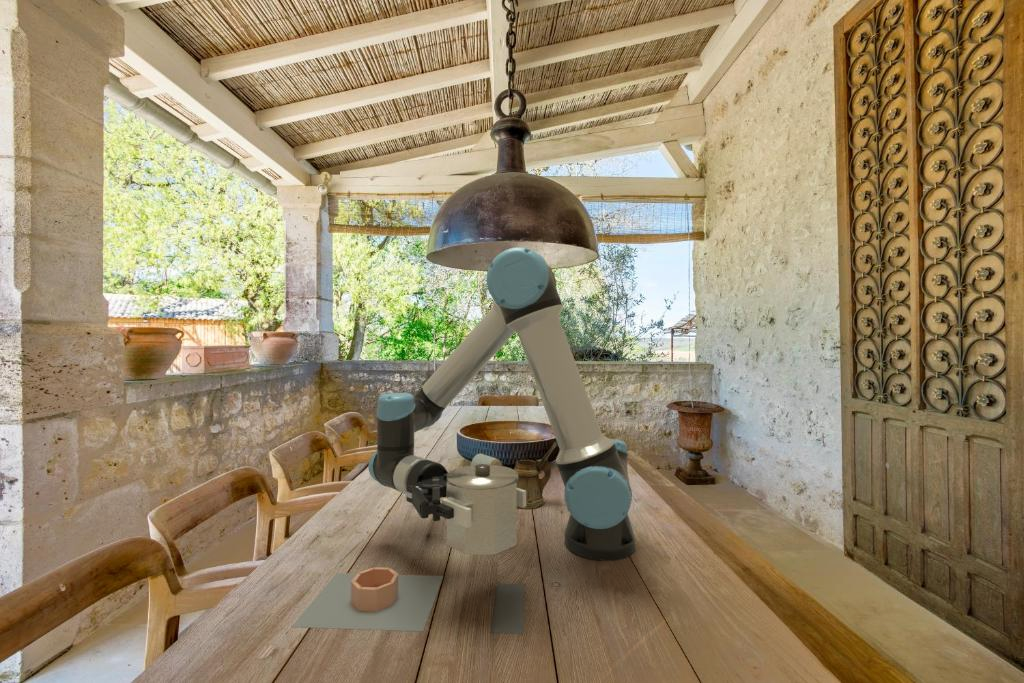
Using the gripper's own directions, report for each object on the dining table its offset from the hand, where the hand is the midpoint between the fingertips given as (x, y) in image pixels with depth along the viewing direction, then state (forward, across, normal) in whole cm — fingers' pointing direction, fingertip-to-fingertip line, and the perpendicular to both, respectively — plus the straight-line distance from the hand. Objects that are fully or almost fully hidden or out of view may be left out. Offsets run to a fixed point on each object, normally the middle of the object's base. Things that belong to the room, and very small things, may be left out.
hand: (498, 508), depth 73 cm
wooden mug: (-31, -42, -18) cm, 55 cm away
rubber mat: (-4, 0, -18) cm, 18 cm away
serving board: (-17, +12, -17) cm, 27 cm away
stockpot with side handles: (-4, 0, -6) cm, 7 cm away
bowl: (-17, +12, -16) cm, 27 cm away
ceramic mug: (-57, -49, -18) cm, 77 cm away
